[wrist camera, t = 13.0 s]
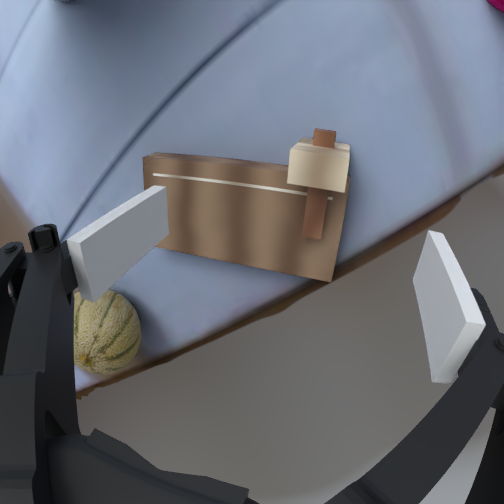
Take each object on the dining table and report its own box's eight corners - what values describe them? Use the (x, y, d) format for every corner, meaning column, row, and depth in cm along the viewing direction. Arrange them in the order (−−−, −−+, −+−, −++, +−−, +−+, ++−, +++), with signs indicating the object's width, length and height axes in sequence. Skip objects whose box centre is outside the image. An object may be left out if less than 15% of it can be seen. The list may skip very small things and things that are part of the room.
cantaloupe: (80, 287, 57) (30, 332, 44) (118, 258, 50) (57, 311, 37) (127, 344, 60) (85, 396, 48) (172, 327, 53) (126, 391, 41)
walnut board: (160, 236, 45) (148, 245, 42) (155, 152, 39) (142, 157, 36) (333, 269, 40) (331, 282, 37) (350, 175, 34) (349, 182, 31)
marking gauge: (294, 218, 37) (280, 249, 31) (304, 123, 32) (291, 132, 25) (336, 226, 36) (332, 259, 30) (351, 131, 31) (352, 141, 24)
